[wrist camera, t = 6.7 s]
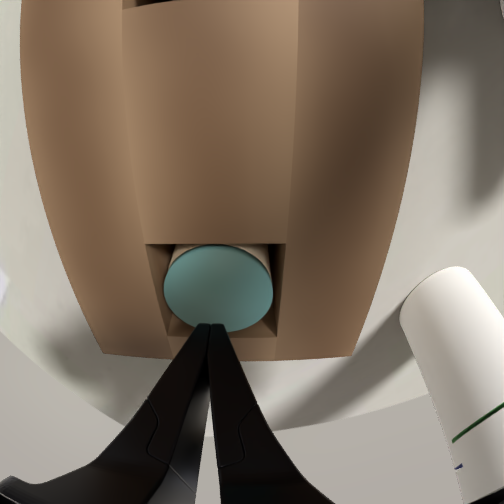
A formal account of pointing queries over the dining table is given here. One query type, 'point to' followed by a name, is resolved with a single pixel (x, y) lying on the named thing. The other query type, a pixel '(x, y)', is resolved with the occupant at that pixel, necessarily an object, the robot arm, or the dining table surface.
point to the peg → (219, 284)
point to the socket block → (222, 155)
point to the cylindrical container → (462, 372)
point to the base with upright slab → (502, 7)
